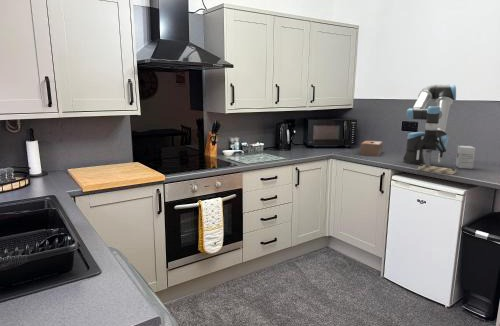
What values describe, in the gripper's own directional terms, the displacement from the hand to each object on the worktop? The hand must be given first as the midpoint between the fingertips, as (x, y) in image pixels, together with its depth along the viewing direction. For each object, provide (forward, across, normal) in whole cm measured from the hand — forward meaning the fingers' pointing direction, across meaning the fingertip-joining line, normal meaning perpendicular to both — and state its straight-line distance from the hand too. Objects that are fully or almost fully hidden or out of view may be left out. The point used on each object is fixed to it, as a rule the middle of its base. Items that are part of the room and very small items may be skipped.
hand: (428, 160), depth 237 cm
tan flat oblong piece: (+6, +6, 0) cm, 9 cm away
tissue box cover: (+6, -58, +40) cm, 71 cm away
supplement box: (+6, +16, +30) cm, 35 cm away
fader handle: (+4, 0, 0) cm, 4 cm away
